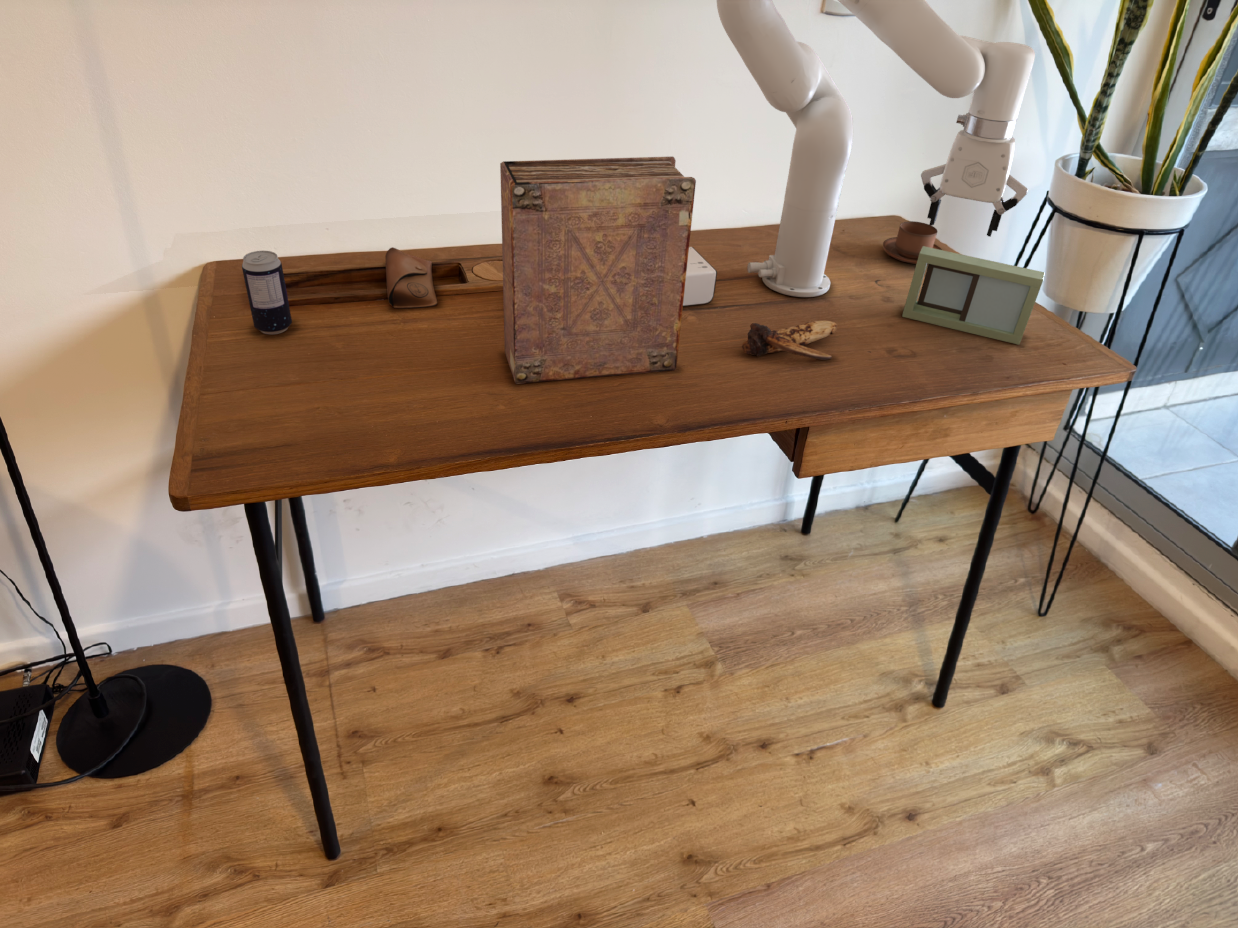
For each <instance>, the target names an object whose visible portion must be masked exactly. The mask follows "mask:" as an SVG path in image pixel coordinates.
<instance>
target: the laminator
mask: <svg viewBox="0 0 1238 928" xmlns="http://www.w3.org/2000/svg"><path fill="white" fill-rule="evenodd" d="M717 276H718V271H717V269H716V268H715V267H714V266H712V264H711V263H709V261H708V260H706V258H704V256H703V255H702V254H700V252H699V251H698V250H697V249H696V248H695V247H694V246H689V252H688V261H687V271H686V281H685V290H684V300H683V308H686V307H695V306H696V307H697V306H704V305H708V304H710V303H711V302H712V301H713V300H714V297H715V293H716V285H717V279H718V278H717Z"/></svg>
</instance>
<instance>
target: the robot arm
mask: <svg viewBox="0 0 1238 928" xmlns="http://www.w3.org/2000/svg"><path fill="white" fill-rule="evenodd" d="M837 1H838V2H839V3H840V4H841V5H843V6H844V7H845V9H847V10H848V11H849V12H850V13H852V14H853V16H854V17H856V18H857V19H858V20H859V21H860V22H861V23H862V24H863V25H865V27H866V28H868V29H869V30H870V31H871V32H872V33H873V34H874V35H875V37H877V39H879V40H880V41H881V42H882V43H883V44H885V45H886V46H887V47H888V48H889V49H891V50H892V52H894V53H895V55H897V56H898V57H899V59H901V60H902V61H903V62H904V63H905V64H906V65H907V66H908V67H909V69H911V70H912V71H913V72H915V74H917V75H918V76H919V77H920V78H922V80H923V81H925V82H926V83H927V84H928V85H929V86H930V87H931V88H933V89H934V90H935V91H936V92H938V94H940V95H942V96H944V97H946V98H948V99H949V98H950V99H961V98H964V97H967V96H969V95H970V94H972V93H973V94H972V97H971V101H970V105H969V109H968V112H966V114H958V115H957V117H956V118H957V119H956V122H955V123H956V124H960V126H962V128H963V129H960V130H959V131H958V132H957V134H956V136H955V138H954V141H953V142H952V145H951V148H950V150H949V154H948V157H947V159H946V163H945V164H941V165H938V166H937V165H936V166H934V167H931V168H928V169H924V170H923V171H922V172H921V174H920V178H921V182H922V184H923V190H924V191H925V193H926V195H927V196H928V198H929V201H930V206H929V210H928V213H927V219H929V225H931V226H934V225H935V223H936V221H937V218H938V215H939V210H940V207H941V203H942V199H941V198H943V197H944V196H950V197H952V198H953V197H954V198H959V199H963V200H964V199H965V200H971V201H976V202H981V203H987V204H992V205H993V207H994V209H993V212H992V215H991V219H990V223H989V225H988V229H987V232H986V236H987V237H989V238H990V237H992V234H993V231H994V232H997V231H998V228H999V225H1000V223H1001V219H1002V215H1004V214H1005V213H1006V212H1008V211H1009V210H1011V209H1013V208H1014V207H1016V206H1017V205H1018V204H1019V203H1020V202H1021V201H1022V200H1023V199H1024V198H1025V197H1026V196H1027V194H1028V193H1029V188H1027V186H1025V185H1023V184H1022V183H1021V182H1020V181H1019V180H1017V178H1015V177H1013V176H1012V175H1011V174H1010V172H1011V168H1012V163H1013V159H1014V154H1015V146H1016V138H1014V137H1013V133H1014V130H1015V127H1016V124H1017V120H1018V117H1019V113H1020V110H1021V106H1022V103H1023V100H1024V97H1025V92H1026V90H1027V87H1028V83H1029V80H1030V77H1031V74H1032V70H1033V67H1034V63H1035V60H1036V52H1035V49H1033V48H1032V47H1031V46H1029V45H1027V44H1022V43H1019V42H1011V41H997V42H993V41H987V40H984V39H983V40H982V39H978V38H975V37H970V36H967V35H960V34H959V33H957V32H956V31H955V29H953V28H952V27H951V26H950V25H949V24H947V22H946V21H945V20H944V19H943V18H942V17H941V16H940V15H938V13H937V12H936V11H935V10H934V9H933V8H932V6H931V5H930V4H929V3H928V2H927V0H837ZM716 9H717V13H718V17H719V20H720V23H721V25H722V27H723V29H724V31H725V33H726V36H727V37H728V39H729V40H730V42H731V44H732V45H733V46H734V48H735V50H736V51H737V53H738V55H739V56H740V58H741V59H742V61H743V63H744V65H745V66H746V69H747V70H748V71H749V73H750V74H751V76H752V78H753V79H754V81H755V82H756V85H758V87H759V89H760V91H761V92H762V95H763V96H764V98H765V99H766V101H767V102H768V103H769V105H770V106H771V107H773V108H774V109H775V110H777V111H779V112H782V113H785V114H786V115H787V117H788V118H789V120H790V122H791V123H792V124H793V126H794V128H795V134H794V140H793V142H792V149H791V155H790V156H791V157H790V162H789V169H788V174H787V175H788V176H787V181H786V187H785V191H784V197H783V204H782V210H781V216H780V222H779V228H778V232H777V233H778V234H777V238H776V245H775V250H774V254H770V255H769V256H768V260H764V261H763V262H758V261H756V262H755V261H754V262H752V261H751V262H748V263H747V266H746V267H747V269H746V270H747V273H748V274H758V277H759V278H762V279H761V281H762V282H763V284H764V285H765V286H766V287H767V288H769V290H772V291H774V292H776V293H779V294H782V295H786V296H791V297H796V298H813V297H814V298H815V297H819V296H822V295H824V294H825V293H827V292H828V291H829V290H830V287H831V280H830V278H829V276H828V275H826V274H825V270H826V266H827V261H828V256H829V253H830V247H831V242H832V237H833V232H834V228H835V223H836V218H837V213H838V209H839V204H840V198H841V195H842V194H841V193H842V189H843V185H844V181H845V176H846V172H847V169H848V165H849V161H850V157H851V153H852V149H853V142H854V120H853V119H854V118H853V114H852V109H851V108H850V106H849V104H848V102H847V101H846V99H845V96H844V95H843V93H842V92H841V90H840V89H839V87H838V86H837V84H836V83H835V81H834V79H833V77H832V76H831V74H830V72H829V71H828V69H827V67H826V66H825V64H824V62H823V61H822V60H821V57H819V55H818V54H817V53H816V51H815V50H814V49H813V47H811V46H810V45H808V44H807V43H805V42H801V41H797V40H796V37H794V35H793V34H792V31H791V30H790V28H789V27H788V24H787V23H786V22H785V19H784V18H783V17H782V15H781V14H780V11H778V9H777V8H776V7H775V4H774V2H773V0H716ZM940 175H942V177H941V180H940V183H939V184H940V185H939V187H938V188H936V187H935V185H934V184H933V181H932V178H933V177H937V176H940ZM1006 186H1007V187H1008V188H1010V189H1011V190H1013V191H1014V192H1015V194H1014V195H1013V196H1012V197H1011V198H1008V199H1006V200H1005V199H1004V197H1003V196H1004V193H1005V191H1006V190H1005V189H1006Z"/></svg>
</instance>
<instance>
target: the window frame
mask: <svg viewBox="0 0 1238 928" xmlns="http://www.w3.org/2000/svg"><path fill="white" fill-rule="evenodd" d="M927 263H928V264H932V265H937V266H941V267H946V268H951V269H955V270H960V271H964V272H969V273H973V274H974V275H973V278H972V281H971V284H970V287H969V291H968V294H967V297H966V300H965V303H964V306H963V309H962V312H961V315H960V314H956V313H951V312H947V311H943V310H939V309H934V308H930V307H926V306H922V305H917V303H918V299H919V295H920V292H921V288H922V285H923V281H924V278H925V274H926V271H927V267H928V264H927ZM1044 278H1045V271H1040V270H1036V269H1031V268H1027V267H1022V266H1017V265H1013V264H1008V263H1004V262H999V261H994V260H990V259H985V258H980V257H975V256H971V255H966V254H961V253H957V252H952V251H948V250H943V249H942V250H939V249H934V248H929V247H925V246H923V247H922V249H921V251H920V253H919V257H918V261H917V264H915V268H914V271H913V275H912V279H911V282H910V285H909V290H908V292H907V293H908V294H907V297H906V301H905V304H904V308H903V311H902V315H901V316H902V318H906V319H910V320H913V321H919V322H922V323H927V324H931V325H935V326H939V327H944V328H947V329H952V330H955V331H959V332H964V333H968V334H972V335H977V336H981V337H984V338H989V339H993V340H997V341H1001V342H1005V343H1009V344H1013V345H1018V346H1019V345H1021V341H1022V339H1023V336H1024V335H1025V330H1026V329H1027V325H1028V323H1029V320H1030V317H1031V315H1032V311H1033V309H1034V307H1035V304H1036V301H1037V300H1038V295H1039V293H1040V290H1041V288H1042V285H1043V283H1044V280H1045V279H1044Z"/></svg>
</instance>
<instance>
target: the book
mask: <svg viewBox="0 0 1238 928" xmlns="http://www.w3.org/2000/svg"><path fill="white" fill-rule="evenodd" d="M676 162H677V161H676V158H675V157H674V156H639V157H638V156H637V157H608V158H577V159H576V158H573V159H572V158H571V159H543V160H542V159H541V160H539V159H538V160H508V161H507V160H505V161H501V162H500V164H499V167H500V169H499V170H500V208H501V210H500V211H501V251H502V292H503V293H502V294H503V334H504V335H503V337H504V338H503V339H504V340H503V342H504V355H505V357H506V360H507V363H508V366H509V368H510V371H511V374H512V378H513V380H514V383H515V385H519V384H531V383H543V382H556V381H565V380H566V381H567V380H580V379H591V378H598V377H599V378H600V377H601V378H602V377H612V376H624V375H635V374H636V375H637V374H649V373H659V372H661V373H662V372H670V371H671V372H673V371H676V370H677V366H678V357H679V347H680V336H681V329H682V328H681V327H682V319H683V309H684V307H683V300H684V290H685V281H686V271H687V261H688V252H689V247H690V240H691V232H692V223H693V212H694V202H695V194H696V185H697V184H696V183H697V180H696V178H695V177H693V176H684V175H683V174H682V173H681V172H680V171H679V170H678V169H677V168H676Z"/></svg>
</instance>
